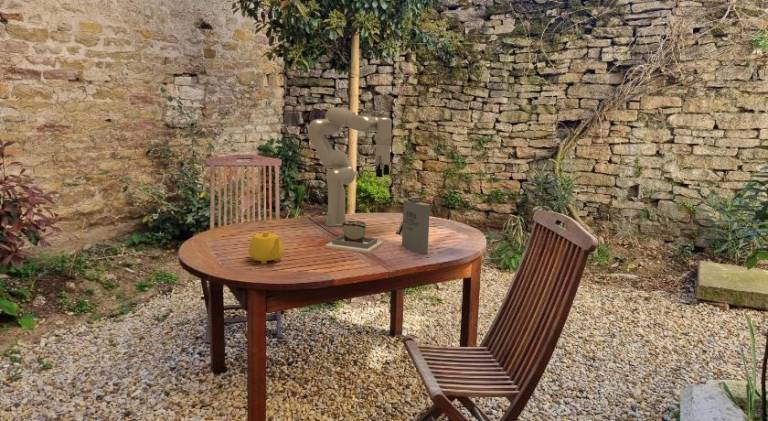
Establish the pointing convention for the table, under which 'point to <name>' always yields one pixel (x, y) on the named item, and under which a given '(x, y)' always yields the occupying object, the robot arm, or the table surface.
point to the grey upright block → (415, 225)
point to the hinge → (400, 228)
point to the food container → (354, 231)
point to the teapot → (266, 247)
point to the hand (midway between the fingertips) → (382, 175)
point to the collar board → (354, 245)
